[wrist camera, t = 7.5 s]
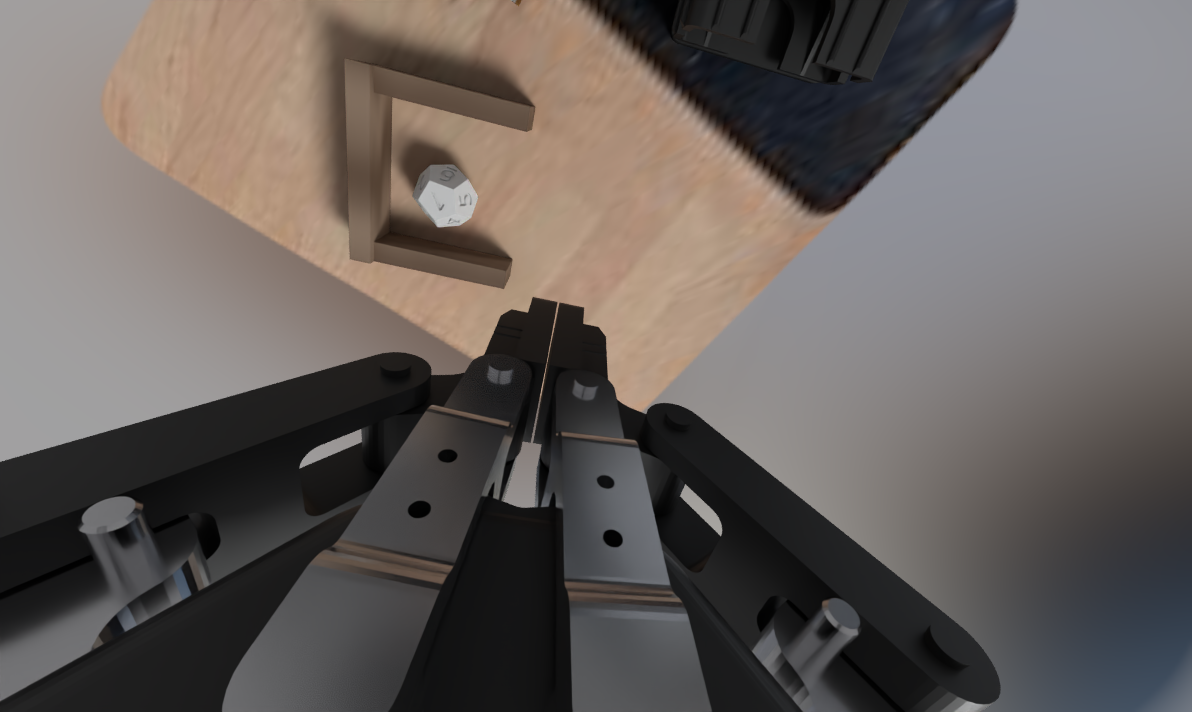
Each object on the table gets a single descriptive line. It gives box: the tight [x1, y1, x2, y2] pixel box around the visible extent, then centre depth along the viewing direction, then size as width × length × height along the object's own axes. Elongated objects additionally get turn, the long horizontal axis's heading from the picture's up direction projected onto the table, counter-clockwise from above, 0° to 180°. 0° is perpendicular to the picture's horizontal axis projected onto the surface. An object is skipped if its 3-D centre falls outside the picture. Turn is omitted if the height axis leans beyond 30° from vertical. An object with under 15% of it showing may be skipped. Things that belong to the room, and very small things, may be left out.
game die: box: [412, 165, 478, 227], centre depth 27 cm, size 4×4×3 cm
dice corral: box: [344, 58, 535, 289], centre depth 27 cm, size 10×9×3 cm
